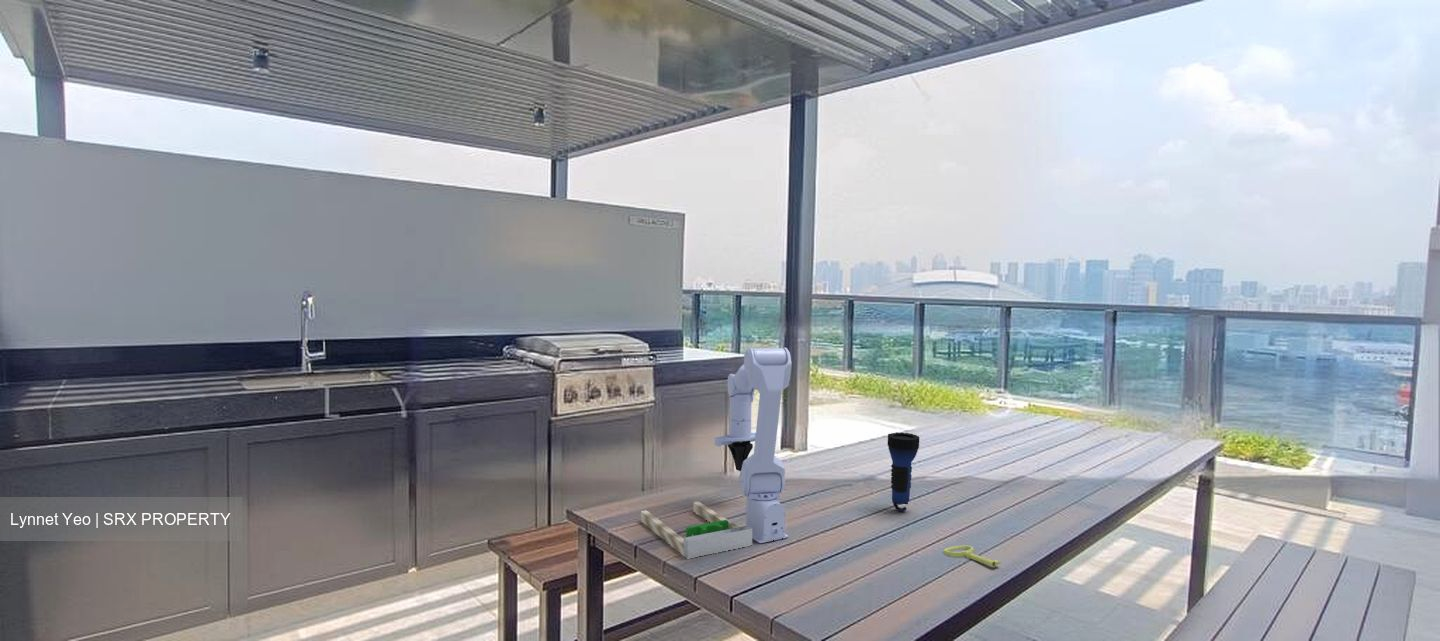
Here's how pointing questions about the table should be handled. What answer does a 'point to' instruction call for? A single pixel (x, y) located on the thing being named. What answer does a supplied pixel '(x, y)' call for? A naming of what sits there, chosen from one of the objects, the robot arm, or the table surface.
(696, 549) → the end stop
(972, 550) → the key
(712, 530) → the pipe clamp
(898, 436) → the flashlight
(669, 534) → the guide rails
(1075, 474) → the table surface
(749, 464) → the robot arm
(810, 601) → the table surface
